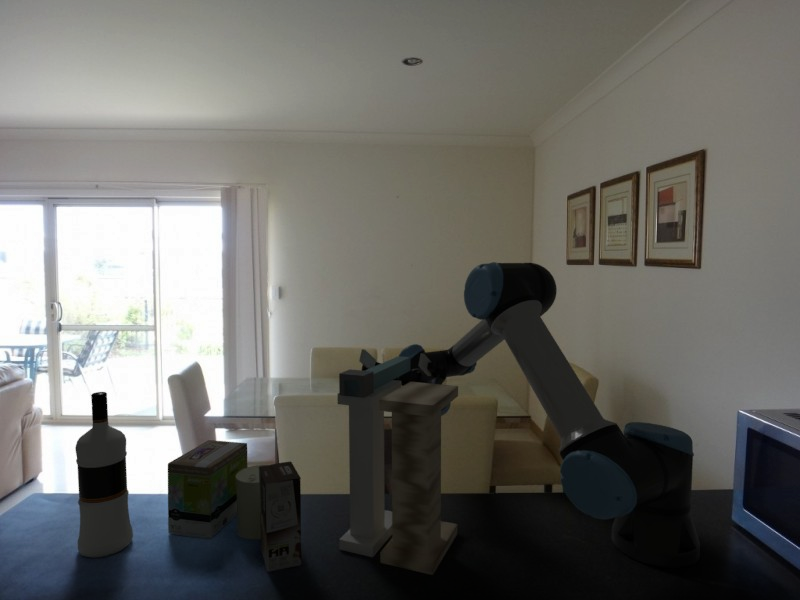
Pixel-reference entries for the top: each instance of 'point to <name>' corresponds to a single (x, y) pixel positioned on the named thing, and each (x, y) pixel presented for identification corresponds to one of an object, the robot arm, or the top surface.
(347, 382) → the teal bar
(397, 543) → the pedestal
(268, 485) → the coffee box
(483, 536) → the top surface
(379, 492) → the stand
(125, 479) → the vodka
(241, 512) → the can
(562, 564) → the top surface
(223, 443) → the tea box
